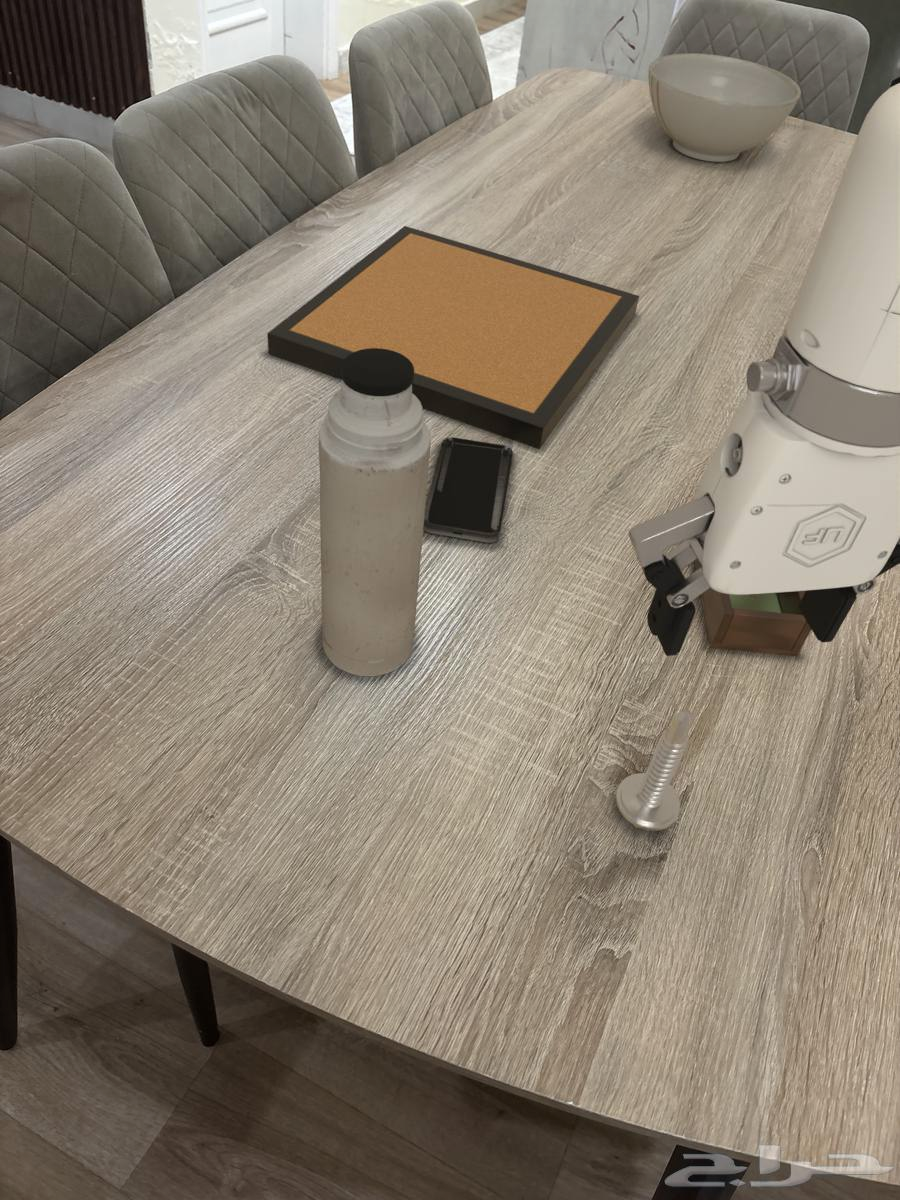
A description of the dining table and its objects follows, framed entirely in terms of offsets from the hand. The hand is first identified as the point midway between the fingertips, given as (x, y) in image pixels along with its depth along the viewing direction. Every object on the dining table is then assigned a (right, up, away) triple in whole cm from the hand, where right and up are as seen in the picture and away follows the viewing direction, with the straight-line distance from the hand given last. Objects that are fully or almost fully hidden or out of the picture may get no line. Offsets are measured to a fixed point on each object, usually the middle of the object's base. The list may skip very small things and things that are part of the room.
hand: (739, 631), depth 56 cm
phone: (-15, +13, +43) cm, 47 cm away
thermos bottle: (-24, -2, +27) cm, 37 cm away
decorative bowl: (+30, +85, +118) cm, 149 cm away
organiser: (+11, +3, +35) cm, 37 cm away
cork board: (-16, +36, +65) cm, 76 cm away
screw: (-2, -15, +17) cm, 23 cm away
